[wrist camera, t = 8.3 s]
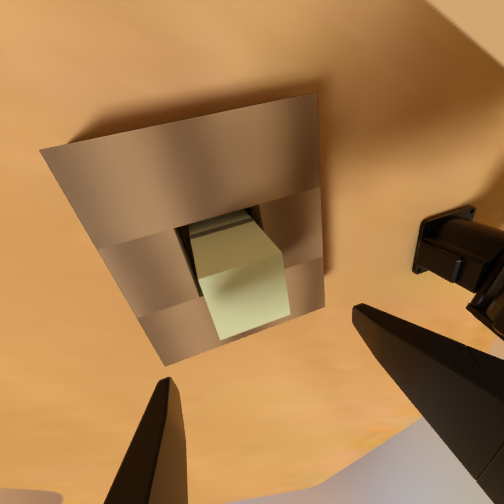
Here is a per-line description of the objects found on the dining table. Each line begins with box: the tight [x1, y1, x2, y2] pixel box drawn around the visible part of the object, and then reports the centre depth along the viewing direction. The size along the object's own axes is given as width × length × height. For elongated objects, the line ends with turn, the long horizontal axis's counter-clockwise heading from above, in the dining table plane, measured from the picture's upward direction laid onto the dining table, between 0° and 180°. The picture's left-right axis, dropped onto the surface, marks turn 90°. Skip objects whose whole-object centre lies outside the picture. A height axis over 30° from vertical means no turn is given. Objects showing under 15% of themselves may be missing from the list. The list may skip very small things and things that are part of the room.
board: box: [39, 92, 325, 367], centre depth 17 cm, size 14×16×3 cm
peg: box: [188, 209, 290, 340], centre depth 15 cm, size 4×4×8 cm
